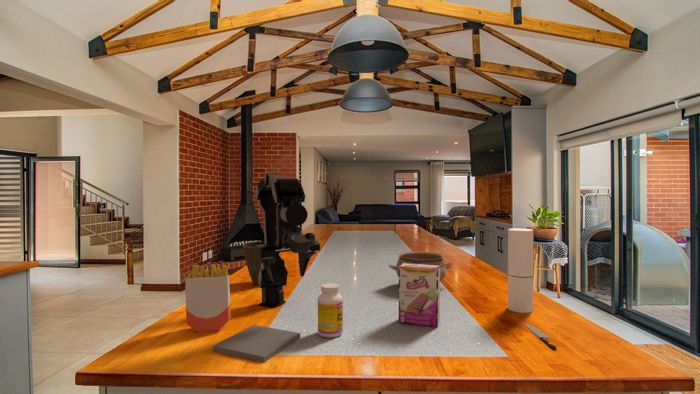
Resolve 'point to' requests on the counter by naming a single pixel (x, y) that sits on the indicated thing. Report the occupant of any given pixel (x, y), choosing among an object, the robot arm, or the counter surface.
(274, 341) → the charcoal mat
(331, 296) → the supplement bottle
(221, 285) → the french fries container
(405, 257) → the cooking pot
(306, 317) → the counter surface
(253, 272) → the plant pot
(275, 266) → the robot arm
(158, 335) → the counter surface
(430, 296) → the candy bar box
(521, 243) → the cylindrical container
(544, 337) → the chef's knife
